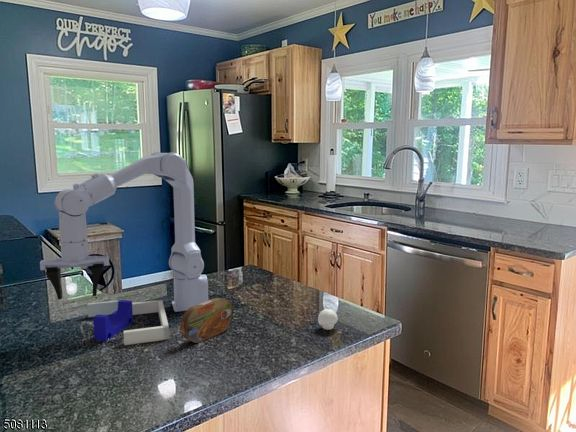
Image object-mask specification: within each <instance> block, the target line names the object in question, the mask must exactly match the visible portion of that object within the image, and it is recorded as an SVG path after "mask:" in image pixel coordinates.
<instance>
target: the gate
mask: <svg viewBox="0 0 576 432" xmlns="http://www.w3.org/2000/svg"><path fill="white" fill-rule="evenodd" d="M120 300H123V298H119V299H118V300H110V301H100V302H91V303H87V304H86V305H87V317H88V318H93V317H94V316H96V315H109V316H110V315H111V314H112V313H113V312H115V311H117V309H118V301H120Z"/></svg>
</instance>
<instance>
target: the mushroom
mask: <svg viewBox="0 0 576 432" xmlns="http://www.w3.org/2000/svg"><path fill="white" fill-rule="evenodd" d="M338 319H339V318H338V314H337V313H336V312H335V311H334V310H333V309H330V308H326V309H325V308H324V309H323V310H321V311H320V312H319V313H318V317H317V322H318V324H319V326H321V328H322V329H323V330H327V331H328V330H332V329H333V328H334V327H335V324H337V322H338Z"/></svg>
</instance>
